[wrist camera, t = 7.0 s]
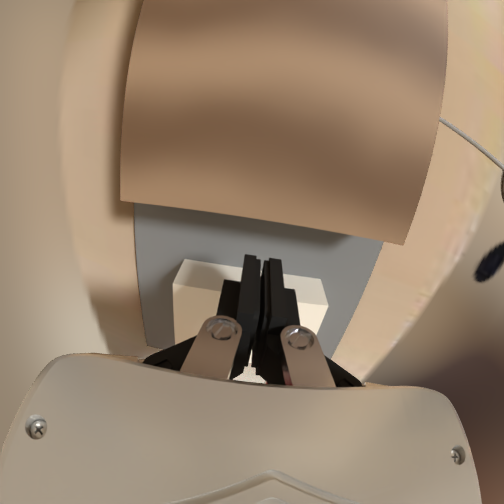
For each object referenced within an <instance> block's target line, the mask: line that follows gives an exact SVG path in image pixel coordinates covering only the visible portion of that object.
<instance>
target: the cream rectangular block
mask: <svg viewBox="0 0 504 504" xmlns="http://www.w3.org/2000/svg"><path fill="white" fill-rule="evenodd" d="M242 269H243V268H240V267H234V266H227V265H220V264H214V263H207V262H201V261H195V260H188V259H184V261H183V263H182V265H181V267H180V269H179V271H178V274H177V276H176V278H175V280H174V282H173V312H174V333H175V345H176V344H178V343H180V342H183V341H185V340H187V339H189V338H192V337H194V336H196V335H198V332H199V330H200V328H201V326H202V324H203V323H204V322H205V320H207V319H208V318H210V317H213V316H216V313H217V309H218V304H219V299H220V295H221V290H222V286H223V281H224V279H226V280H233V281H241V275H242ZM261 273H262V271H261ZM283 278H284V287H285V288H289V289H295V292H296V298H297V305H298V311H299V318H300V325H301V326H304V327H306V328H308V329H310V330H311V331H313V332H314V333H315V335H317V332H318V330H319V328H320V325H321V323H322V321H323V318H324V316H325V313H326V311H327V308H328V302H327V299H326V295H325V292H324V289H323V285H322V282H321V279H317V278H310V277H302V276H295V275H288V274H283ZM251 362H252V350H251V355H250V359H249V363H250V364H251Z"/></svg>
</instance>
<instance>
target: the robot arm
mask: <svg viewBox="0 0 504 504" xmlns="http://www.w3.org/2000/svg"><path fill="white" fill-rule="evenodd" d="M251 350H252V362H251V367H254V368H256V375H260V376H261V377H262V378H263V379H264V380H265V382H264V384H263V383H253V382H245V381H236V380H233V378H235V377H237V376H238V375H240V374H242V373H243V370H244V366H246V367H248V363H249V359H250V355H251ZM0 504H482V503H481V495H480V489H479V483H478V478H477V473H476V469H475V465H474V461H473V458H472V454H471V450H470V447H469V443H468V441H467V438H466V435H465V432H464V429H463V427H462V424H461V422H460V419H459V417H458V415H457V413H456V411H455V409H454V407H453V405H452V404H451V402H450V401H449V400H448V398H447V397H445V396H444V395H443V394H441V393H439V392H437V391H434V390H430V389H427V388H422V387H415V386H386V385H379V384H374V383H368V382H365V384H361V382H360V381H359V380H358V379H357V378H355V377H354V376H353V375H351V374H350V373H348V372H347V371H346V370H344V369H343V368H342V367H340V366H339V365H337V364H336V363H335V362H333V361H332V360H331V359H329V358H328V357H326V356H325V355H324V354H323V351H322V348H321V346H320V343H319V341H318V338H317V336H316V335H315V333H314V332H313V331H311V330H310V329H308V328H306V327H304V326H301V325H300V318H299V311H298V305H297V298H296V292H295V289H289V288H285V287H284V278H283V269H282V260H281V259H275V258H269V260H264V263H263V268H262V273H261V259H257V256H255V255H249V254H245V256H244V262H243V269H242V275H241V281H233V280H226V279H224V281H223V286H222V290H221V295H220V299H219V304H218V309H217V313H216V316H213V317H210V318H208V319H207V320H205V322H204V323H203V324H202V326H201V328H200V330H199V332H198V335H196V336H194V337H192V338H189V339H187V340H185V341H183V342H180V343H178V344H176V345H173V346H171V347H169V348H167V349H164V350H162V351H160V352H157V353H155V354H152V355H150V356H149V357H147V358H146V359H145V360H144V359H138V356H123V355H111V354H100V353H80V354H67V355H63V356H60V357H57V358H55V359H54V360H52V361H51V362H50V363H49V364H47V366H46V367H45V368H44V369H43V370H42V371H41V373H40V374H39V375H38V377H37V378H36V380H35V381H34V383H33V384H32V386H31V387H30V389H29V391H28V393H27V395H26V396H25V398H24V400H23V402H22V403H21V405H20V408H19V410H18V412H17V414H16V416H15V418H14V421H13V423H12V425H11V427H10V430H9V432H8V435H7V437H6V440H5V443H4V445H3V448H2V451H1V454H0Z"/></svg>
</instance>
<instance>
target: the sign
mask: <svg viewBox="0 0 504 504" xmlns="http://www.w3.org/2000/svg"><path fill="white" fill-rule="evenodd" d="M439 121H440V122H442V123H443V124H445V125H446V126H448V127H449V128H451V129H452V130H453V131H455V132H456V133H458V134H459V135H460V136H462V137H463V138H464V139H466V140H467V141H468V142H470V143H471V144H472V145H474V146H475V147H476V148H478V149H479V150H480V151H481V152H483V153H484V154H485V155H486V156H487V157H489V158H490V159H491V160H492V161H493V162H494V163H496V164H497V165H498V166H499V167H500V168H501V169H502V175H501V195H502V199H503V202H504V165H503V164H502V163H501V162H500V161H498V160H497V159H496V158H495V157H494V156H493V155H491V154H490V153H489V152H488V151H487V150H485V149H484V148H483V147H482V146H480V145H479V144H478V143H477V142H475V141H474V140H473V139H471V138H470V137H469V136H467V135H466V134H465V133H463V132H462V131H461V130H459V129H458V128H456V127H455V126H453V125H452V124H450V123H449V122H447V121H446V120H444V119H443V118H441V117H440V119H439Z"/></svg>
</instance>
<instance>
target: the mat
mask: <svg viewBox="0 0 504 504" xmlns="http://www.w3.org/2000/svg"><path fill="white" fill-rule="evenodd" d="M134 222H135V244H136V259H137V272H138V282H139V292H140V300H141V308H142V316H143V323H144V329H145V336H146V342H147V346H151V347H155V348H160V349H167V348H169V347H171V346H173V345H175V333H174V312H173V282H174V280H175V278H176V276H177V274H178V271H179V269H180V267H181V265H182V263H183V261H184V259H188V260H195V261H201V262H207V263H214V264H220V265H227V266H234V267H240V268H243V262H244V256H245V254H249V255H255V256H257V259H261V271H262V268H263V263H264V260H269V258H275V259H281V260H282V269H283V274H288V275H295V276H302V277H310V278H317V279H321V282H322V285H323V289H324V292H325V295H326V299H327V302H328V308H327V311H326V313H325V316H324V318H323V321H322V323H321V325H320V328H319V330H318V332H317V335H316V336H317V338H318V341H319V343H320V346H321V348H322V351H323V354H324V355H325V356H326V357H328V358H329V359H331V357H332V356H333V354H334V352H335V350H336V348H337V346H338V344H339V342H340V340H341V338H342V336H343V334H344V333H345V331H346V328H347V326H348V324H349V322H350V320H351V318H352V316H353V314H354V312H355V310H356V308H357V305H358V303H359V301H360V299H361V297H362V294H363V292H364V290H365V287H366V285H367V283H368V280H369V278H370V276H371V273H372V271H373V268H374V266H375V263H376V261H377V258H378V256H379V253H380V250H381V248H382V245H383V242H384V241H379V240H374V239H369V238H364V237H358V236H353V235H348V234H342V233H337V232H332V231H326V230H320V229H315V228H309V227H303V226H297V225H292V224H286V223H280V222H273V221H267V220H261V219H254V218H248V217H241V216H235V215H228V214H221V213H214V212H207V211H199V210H192V209H184V208H177V207H169V206H161V205H152V204H144V203H135V202H134ZM248 364H250V363H248Z"/></svg>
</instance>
